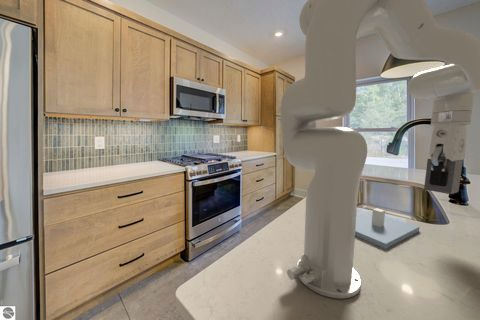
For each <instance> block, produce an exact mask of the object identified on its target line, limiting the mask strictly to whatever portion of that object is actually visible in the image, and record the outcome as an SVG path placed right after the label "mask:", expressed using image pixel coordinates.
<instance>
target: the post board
mask: <svg viewBox="0 0 480 320" xmlns="http://www.w3.org/2000/svg"><path fill="white" fill-rule="evenodd" d="M419 232H420V226H418V225H415V224H412V223H408V222H405V221H403V220H399V219H396V218H392V217H390V216H386V210H384V209H381V208H377V207H376V208H373V209H372V211H370V212H367V213H364V214H362V215H359V216H356V229H355V237H356V238H360V239H362V240H364V241H366V242H369V243H371V244H372V245H374V246H377V247H380V248H382V249H384V250H386V249H389V248H391V247H392V246H394V245H396V244H398V243H400V242H401V241H403V240H405V239H407V238H410V237H411V236H413V235H415V234H417V233H419Z"/></svg>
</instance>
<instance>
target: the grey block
mask: <svg viewBox="0 0 480 320" xmlns="http://www.w3.org/2000/svg"><path fill="white" fill-rule="evenodd" d="M440 160H445V159H440ZM463 162H464V159H463V160H457V161H454V162H452V161H450V159H449V160H448V164H447V168H446V172H447V180H446V186H444V187H443V186H437V185H431V184H430V183H429V182H430V174H431V166H432V161H431V159H430V158H427V160H426V170H425V177H424V178H425V179H424V185H423V189H424V190H425V191H432V192H436V193H442V194H448V195H453V194H457V193H459V191H460V184H461V183H460V182H461V176H462V169H463ZM442 165H443V163H442Z"/></svg>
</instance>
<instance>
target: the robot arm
mask: <svg viewBox="0 0 480 320" xmlns="http://www.w3.org/2000/svg"><path fill="white" fill-rule="evenodd" d="M298 23H299V27H300V30H301V32H302V34H303V35H304V36H305V45H304V48H305V49H304V51H305V53H304V54H305V55H304V63H305V64H304V65H305V66H304V68H305V69H304V70H305V71H304V77H303V78H300V79H298V80H295V81H294V82H292V83H290V84H289V85H288V86H287V88H286V89H285V91H284V92H283V94H282V97H281V101H280V107H279V108H280V123H281V124H280V125H281V135H282V146H283V152H284V156H285V158H286V160H287V161H288V163H289V164H290V165H291V166H293V167H295V168H297V169H301V170H305V171H310V172H313V173H314V174H313V177H312V179H311V180H310V183H309V184H308V186H307V189H306V192H305V195H306V196H305V214H304V215H305V217H304V245H303V247H304V249H303V255H300V258H299V259H298V260H297V262H296V266H293V267H290V268H288V269H287V270H286V273H287V276H288V278H289V279H290V280H291V281H293V280H295V279H297V278H299V280H300V282H301V283H302V284H303V285H305V287H307V288H308V289H309V290H311V291H313V292H315V293H317V294H319V295H321V296H324V297H327V298H333V299H343V300H344V299H349V298H352V297H354V296H356V295H357V294H359V292H360V291H361V288H362V280H361V277H360V275H359V273H358V272H357V270H355V269H354V255H355V244H356V243H355V241H356V239H355V238H356V236H355V229H356V217H357V213H358V212H357V211H358V210H357V209H358V196H359V188H360V182H361V179H362V174H363V170H364V168H365V164H366V160H367V157H368V156H367V155H368V144H367V141H366V139H365V137H364V136H363V134H361V133H360V132H359V131H357V130H355V129H352V128H350V127H345V126H344V127H343V126H331V127H330V126H329V127H327V126H326V127H317V122H326V121H327V122H328V121H333V120H337V119H338V120H339V119H342V118H344V117H347V116H348V115H350V114H351V113H352V111H353V110H354V108H355V105H356V103H357V102H356V100H357V54H356V53H357V51H356V50H357V40H359V39H360V38H362V37H364V36H367V35H368V34H370V33H373V32H376V34H377V35H378V36H379V37H380V39H381V40H382V42H383V44H384V46H386V48H387V50H388V51H389V52H390V54H391V56H393V58H396V59H400V60H410V61H411V60H412V61H414V60H415V61H440V62H441V61H442V62H447V63H450V64H447V65H443V66H439V67H434V68H431V69H427V70H424V71H421V72H418V73H417V74H415V75H413V76H412V78H411V79H410V80H409V82H408V86H407V90H408V91H407V92H408V94H409V95H410V96H411V97H412V98H414V99H415V100H419V101H425V100H426V101H427V100H429V101H430V100H433V102H432V103H433V104H432V110H431V111H432V112H431V119H430V126H433V129H432V134H431V139H430V144H429V153H428V154H429V156H428V157H429V159H431V161H432V166H431V174H430V182H429V183H430V184H431V185H437V186H443V187H444V186H446V180H447V172H446V168H447V164H448V160H449V159H450V161H452V162H454V161H457V160H463V161H464V159H465V157H466V149H467V148H466V147H467V146H466V145H467V125H471V121H472V114H473V108H474V102H475V101H474V100H475V93H477V92H480V39H479V38H477V37H476V36H474V35H472V34H471V33H467V32H464V31H461V30H458V29H455V28H451V27H445V26H441V25H439V24H438V23H437V21H436V19H435V17H434V15H433V13H432V11H431V9H430V7H429V5H428V4H427V2H426V0H307V1H306V2H305V3H304V5H303V6H302V8H301V11H300V14H299V22H298ZM440 159H445V160H440ZM442 163H443V165H442Z"/></svg>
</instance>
